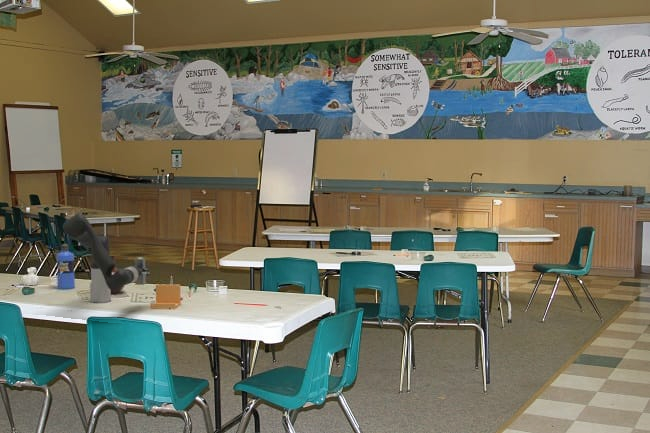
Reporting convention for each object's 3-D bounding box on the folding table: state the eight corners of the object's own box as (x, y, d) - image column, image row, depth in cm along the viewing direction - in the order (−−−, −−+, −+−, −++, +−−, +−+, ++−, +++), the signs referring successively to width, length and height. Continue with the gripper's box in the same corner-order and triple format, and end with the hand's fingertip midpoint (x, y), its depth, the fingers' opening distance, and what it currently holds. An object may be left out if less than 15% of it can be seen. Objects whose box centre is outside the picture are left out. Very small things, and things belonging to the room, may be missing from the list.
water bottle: (60, 286, 456) (59, 242, 454) (77, 286, 456) (75, 242, 454) (55, 289, 447) (53, 244, 445) (72, 289, 447) (70, 244, 445)
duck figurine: (39, 289, 461) (47, 272, 467) (31, 283, 456) (39, 265, 461) (23, 288, 466) (31, 271, 472) (15, 281, 460) (23, 264, 466)
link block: (135, 284, 394) (134, 258, 393) (137, 283, 398) (137, 257, 397) (143, 284, 394) (142, 258, 393) (145, 283, 398) (145, 257, 397)
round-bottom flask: (129, 291, 440) (128, 254, 439) (120, 295, 427) (119, 258, 426) (106, 290, 442) (105, 254, 440) (96, 295, 429) (95, 257, 428)
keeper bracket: (150, 308, 391) (149, 288, 390) (157, 304, 402) (156, 284, 401) (174, 309, 390) (174, 288, 389) (180, 304, 401) (180, 284, 400)
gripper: (144, 267, 381) (156, 262, 398) (115, 266, 382) (127, 262, 399) (145, 282, 381) (156, 277, 398) (115, 282, 383) (128, 277, 400)
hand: (142, 269), depth 398 cm, fingers closed on link block, 4 cm apart
